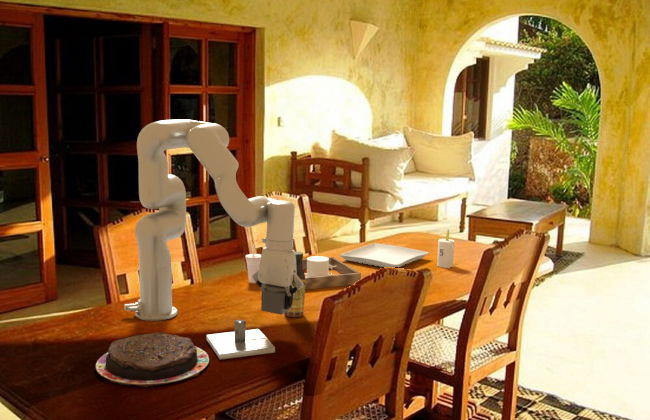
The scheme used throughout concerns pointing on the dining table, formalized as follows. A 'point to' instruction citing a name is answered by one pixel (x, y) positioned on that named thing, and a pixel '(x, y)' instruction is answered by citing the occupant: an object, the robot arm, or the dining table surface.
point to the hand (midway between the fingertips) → (276, 305)
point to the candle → (445, 252)
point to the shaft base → (240, 342)
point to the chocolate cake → (151, 360)
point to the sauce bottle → (299, 295)
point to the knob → (273, 299)
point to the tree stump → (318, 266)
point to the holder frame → (332, 276)
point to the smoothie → (252, 265)
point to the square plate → (383, 255)
